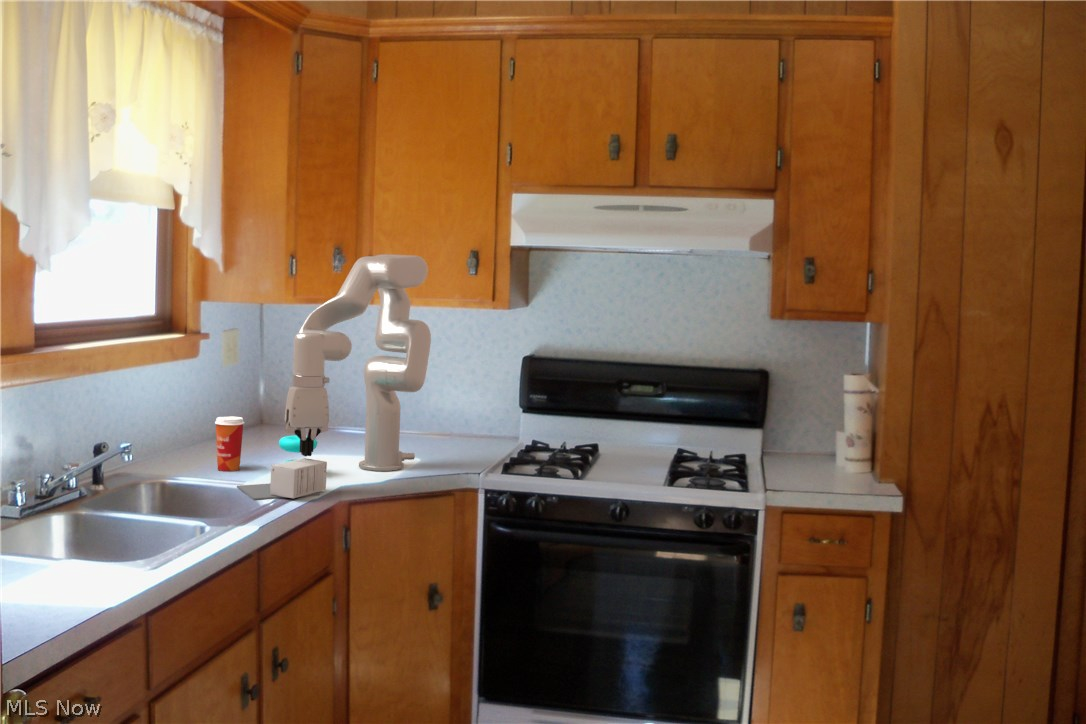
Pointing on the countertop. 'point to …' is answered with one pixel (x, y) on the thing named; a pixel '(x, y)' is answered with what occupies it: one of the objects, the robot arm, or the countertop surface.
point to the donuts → (292, 444)
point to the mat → (261, 491)
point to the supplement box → (298, 478)
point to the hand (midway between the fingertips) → (306, 455)
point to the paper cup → (229, 442)
